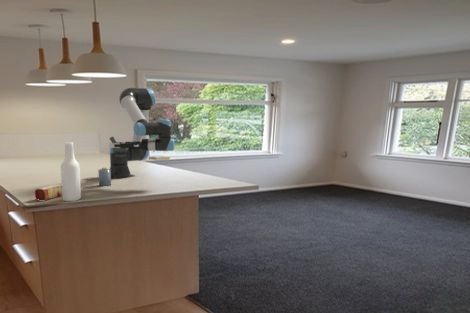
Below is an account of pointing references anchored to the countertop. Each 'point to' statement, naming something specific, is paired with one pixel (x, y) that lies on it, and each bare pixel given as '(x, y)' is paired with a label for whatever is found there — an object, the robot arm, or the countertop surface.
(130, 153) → the robot arm
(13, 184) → the countertop surface
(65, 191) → the alcohol
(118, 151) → the mortar and pestle
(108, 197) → the countertop surface
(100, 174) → the glazed jar
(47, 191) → the snack package
